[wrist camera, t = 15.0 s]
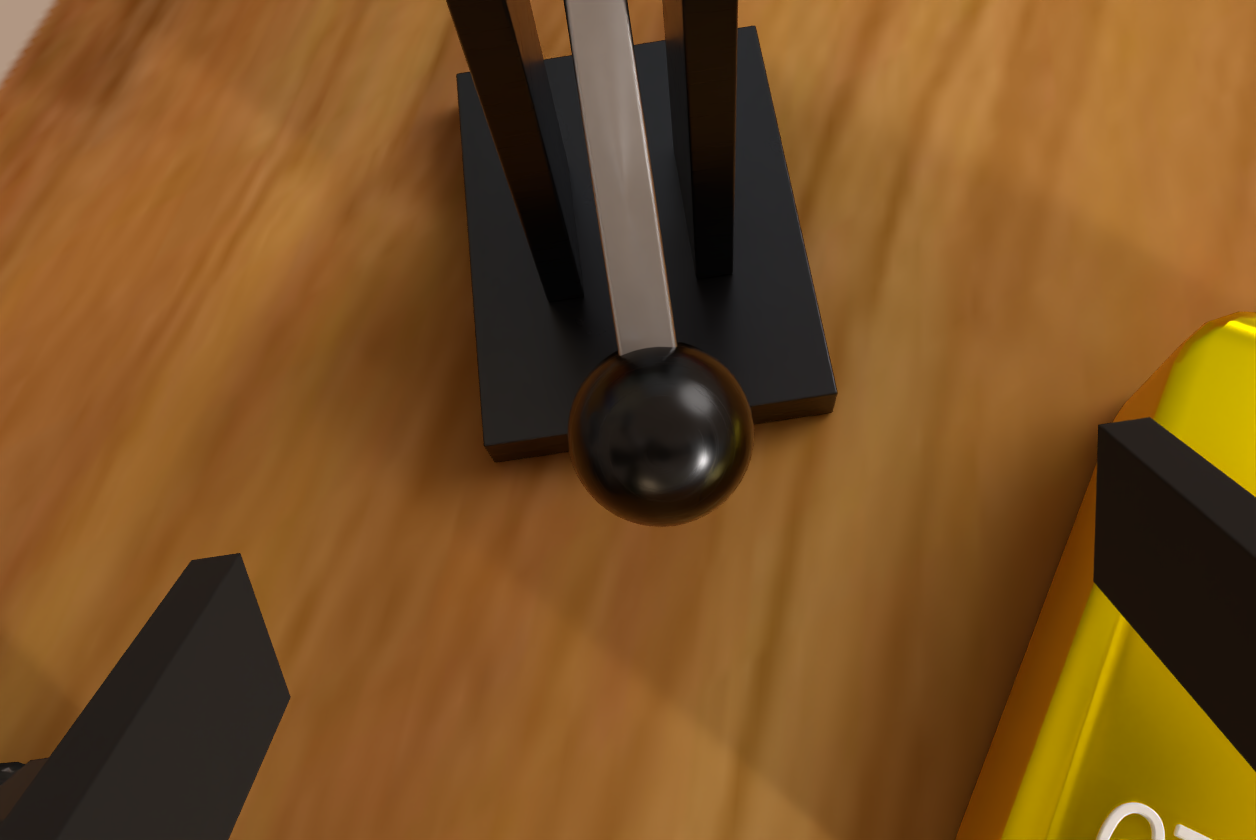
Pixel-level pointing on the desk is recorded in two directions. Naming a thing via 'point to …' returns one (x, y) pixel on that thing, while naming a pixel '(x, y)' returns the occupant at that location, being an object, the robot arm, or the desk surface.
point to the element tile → (1126, 661)
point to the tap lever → (643, 318)
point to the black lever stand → (687, 209)
